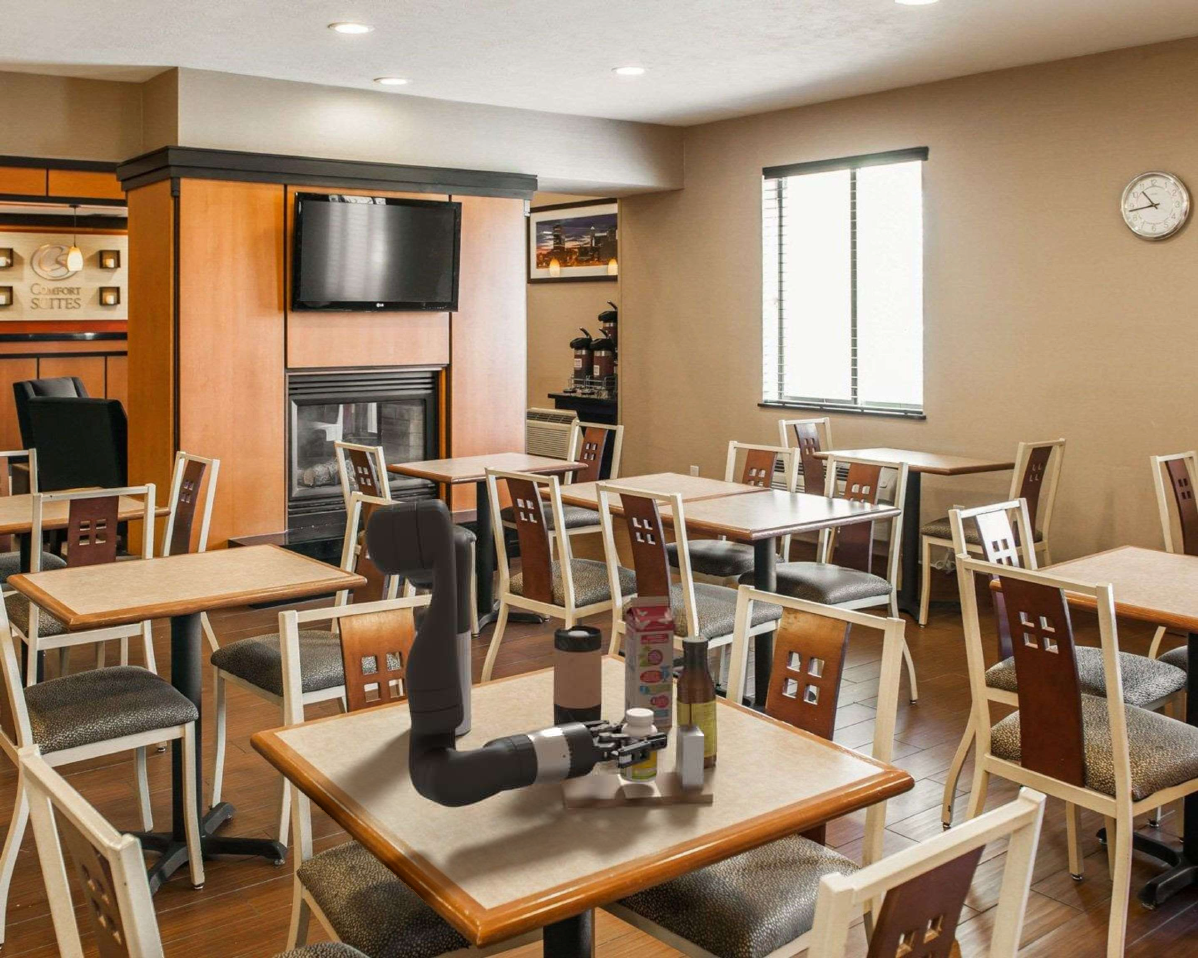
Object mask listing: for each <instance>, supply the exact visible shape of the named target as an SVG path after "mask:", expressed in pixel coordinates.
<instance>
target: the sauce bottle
mask: <svg viewBox="0 0 1198 958" xmlns="http://www.w3.org/2000/svg"><path fill="white" fill-rule="evenodd" d="M681 640H682V641H681V648H682V650H683V651H682V652H683V663H682V666H683V667H682V669H681V671H680V673H678V674H679V675H678V676H677V680H676V699H675V702H676V726H677V725H687V724H697V726H698V727H699V729H700V730H701V732H702V733H703V735H704V766H703V769H705V768H709V767H712V766H714V765H715V764H716V762H717V760H718V759H717V752H718V728H717V727H718V726H717V725H718V724H717V722H718V721H717V719H718V718H717V715H718V714H717V692H716V685H715V682H714V680H713V678H712V675H711V672H710V670H709V662H708V649H709V639H708V637H705V636H702V635H701V636H700V635H692V636H691V635H690V636H684V637H683V638H682V639H681Z"/></svg>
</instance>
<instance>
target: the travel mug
mask: <svg viewBox="0 0 1198 958" xmlns="http://www.w3.org/2000/svg"><path fill="white" fill-rule="evenodd" d="M553 636H554V639H553V640H554V641H553V644H554V646H553V705H552V706H553V726H555V725H561V724H566V723H572V722H580V723H581V722H590V721H599V720H602V701H603V700H602V699H603V698H602V695H603V694H602V688H603V687H602V686H603V685H602V684H603V683H602V679H603V677H602V676H603V675H602V672H603V670H602V667H603V666H602V665H603V664H602V660H603V659H602V658H603V656H602V653H603V652H602V649H603V646H602V645H603V644H602V643H603V642H602V641H603V640H602V638H603V637H602V629H600V628H598V627H595V626H590V625H582V624H581V625H580V624H579V625H578V624H577V625H572V626H571V627H570V628H568V629H561V628H560V627H558V628H556V629H554V635H553ZM597 727H598V726H597Z"/></svg>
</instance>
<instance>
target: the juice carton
mask: <svg viewBox="0 0 1198 958" xmlns="http://www.w3.org/2000/svg"><path fill="white" fill-rule="evenodd" d="M669 600H670V599H669V595H665V596H664V595H663V596H659V595H658V596H639V597H638V596H636V597H630V607H629V608H628V609H627V610H626V612H625V631H624V632H625V634H624V635H625V637H624V638H625V647H624V648H625V649H624V707H623V708H624V712H623V713H624V718H625V719H626V711H627V710H629V709H634V708H643V709H649V710H651V711H653V713H654V720H653V723H652V725H654V726H655V727H656V728H668V727H669V728H670V727H673V705H674V704H673V698H674V695H673V694H674V692H673V691H674V690H673V688H674V651H675V650H674V647H675V646H674V640H675V639H674V637H675V636H674V635H675V620H674V616H673V614H672V612H671V610H670V608H669V604H670V603H669Z"/></svg>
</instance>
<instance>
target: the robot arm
mask: <svg viewBox="0 0 1198 958" xmlns="http://www.w3.org/2000/svg"><path fill="white" fill-rule="evenodd" d="M365 526H366V527H365V534H364V537H365V546H366V550H367V551H366V552H367V555H368V556H369V559H370V561H371V564H372V565H373V566H374V568H376V570H377V571H378V573H381V574H382V575H386V576H400V577H403V578H404V579H406V580H407V581H408V583H409V584H410V585H411V586H412V587H413V588H416V589H419V590H426V591H427V590H432V592H431V593H432V594H431V599H430V602H429V605H428V606H427V607H426V608H423V609H421V610H420V611H419V610H418V612H417V613H416V615H415V620H414V625H415V626H414V627H415V628H414V629H415V638H414V640H413V643H412V644H411V647H410V650H409V652H408V655H407V659H406V664H405V674H404V675H405V676H404V677H405V685H406V695H407V701H408V702H407V703H408V709H409V716H410V723H411V724H410V730H409V741H408V743H409V744H408V760H407V761H408V773H409V777H410V781H411V784H412V785H413V787H414V790H415V791H416V792H417V793H418V794H419V795H420V796H421V797H423V798H424V799H427V800H429V801H432V802H434V803H435V804H438V805H440V806H443V807H446V808H463V807H467V806H471V805H473V804H476V803H480V802H482V801H484V800H486V799H489V798H491V797H494V796H496V795H498V794H499V793H501V792H508V791H513V790H517V789H521V788H526V787H527V788H528V787H530V786H542V785H549V784H554V783H558V782H559V783H560V781H564V780H568V779H573V778H577V777H582V776H589V774H591V773H592V771H593V770H594V767H595V766H596V765H597V763H602V764H603V763H611V762H612V761H613V762H614V761H615V762H617V768H618V769H620V768H621V769H623V768H627V767H630V766H633V765H636V764H639V763H642V762H645V761H648V760H650V752H651V751H655V750H657V751H660V750H664V749H666V748H667V747H668V734H667V733H666V732H664V731H663V732H658V733H656V734H651V735H646V736H638V737H631V736H630V735H629V734H621V729H622V727H623V726H624V725H625V724H627V722H624V723H619V722H612V723H610V720H609V719H601V720H599V721H590V722H581V723H580V722H572V723H566V724H561V725H555V726H554V725H551V726H546V727H545V726H544V727H540V728H535V729H532V730H529V731H526V732H524V733H519V734H517V733H516V734H514V735H508V736H502V737H498V738H495V739H492V740H489V741H487V742H486V743H485V744H484V745H483V746H482V747H480V748H477V749H471V750H463V751H461V750H460V751H459V750H457V745H456V744H457V742H456V741H457V740H456V736H460V735H464V734H466V733H468V732H469V731H470V730H471V729H472V622H471V621H472V618H471V617H472V616H471V591H472V572H473V571H472V570H473V548H472V542H471V540H470V538H469V536H467V535H465V534H462V533H461V534H459V533H455V532H454V526H453V521H452V517H451V513H450V510H449V508H448V506H447V504H446V503H445V502H444V501H443V500H442V499H440V498H439V499H438V498H432V499H431V498H430V499H422V500H413V501H407V502H406V501H405V502H399V503H398V502H397V503H393V504H392V503H391V504H390V503H389V504H385V505H381V506H379V507H377V508H375V509H373V511H372V512H371V514H370V515H369V517H368V518H367V521H366V525H365ZM597 726H598V727H597ZM621 740H624V746H622V748H621V744H622V743H621ZM638 742H639V743H638ZM632 743H636V744H633V745H631V744H632Z"/></svg>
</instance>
